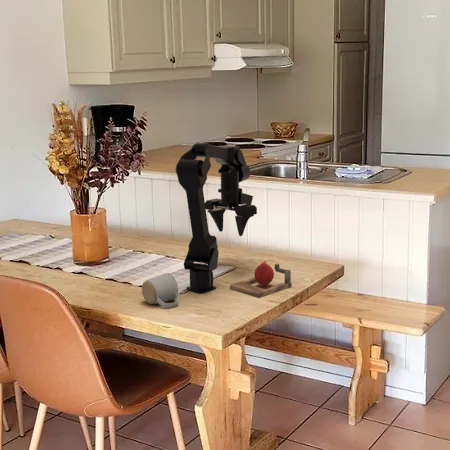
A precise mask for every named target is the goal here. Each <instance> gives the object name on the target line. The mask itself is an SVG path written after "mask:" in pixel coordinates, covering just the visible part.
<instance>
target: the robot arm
mask: <svg viewBox="0 0 450 450" xmlns="http://www.w3.org/2000/svg"><path fill="white" fill-rule="evenodd" d="M197 158H204V160H202V159H197ZM210 159H214V160H215V162H216V163H217V164H220V165H221V166H220V168H219V169H218V171H217V173H218V174H220V188H218V189H217V192H218V193H220V198H212V199H207V200H206V201H205V195H204V194H205V193H204V187H205V186H204V185H205V184H206V183H207V179H208V173H209V171H210V169H211V168H212V164H211V160H210ZM175 173H176V176H177V181H178V183H179V185H180V186H181V188H182V189H183V190H184V191H185V194H186V200H187V202H186V203H187V208H188V214H189V221H190V229H191V235H192V237H191V239H190V242H189V244H188V251H187V254H186V256H185V259H184V261H183V268H184V270H185V271H186V270H188V272H189V286H187V287H186V290H189V291H192V292H195V293H198V294H203V293H206V292H209V291H213V290H216V289H217V286H215V285H214V272H213V271H215V270H217V268H218V261H219V247H218V243H217V237H216V235H212V234H211V233H210V232H209V225H208V218H207V217H208V215H207V212H208V213H209V214H210V216H211V218H212V220H213V222H214V223H215V225H216V228H217V229H218V231H219V232H223V231H224V214H225V212H226V211H227V210H228V211H233V212H235V215H234V218H235V224H236V228H237V233H238V235H239V237H242V236H243V235H244V233H245V229H246V226H247V224H248V221H249V220H250V219H251V218H252V217H254V215H257V213H258V207H257V206H256V205H254V204H253V203H252V202H253V198H254V196H253V195H251V194H248V193H245V192H243V188H241V187H240V183H242V182H244V181H246V180H248V179H249V178H250V177H251V173H252V172H251V168H250V167H249V166H248V164H247V162H246V158H245V157H244V154H243V151H242V150H241V147H240V146H239V145H213V144H210V143H206V142H205V143H204V142H200V143H199V142H198V143H194V144H193V145H192V147H191V149H189V150H188V151H186V152H185V153H184V154H182V155H181V157H180V158H179V160H178V162H177V164H176V166H175Z"/></svg>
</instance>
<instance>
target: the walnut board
mask: <svg viewBox="0 0 450 450" xmlns="http://www.w3.org/2000/svg"><path fill="white" fill-rule="evenodd" d="M274 270H275V271H274V272H277V273H280V274H283V275H284V282H282V283H280V284H277V285H273V286H271V287H268V288H261V287H258V286H255V285H253V284H256V283H258V282H257V281H256V279H255V276H253V277H251V278H247V279H245V280H241V281H238V282H235V283H232V284H229V289H230V290H232V291H236V292H239V293H242V294H246V295H249V296H252V297H255V298H259V299H260V298H262V297H265V296H269V295H271V294H274V293H277V292H280V291H283V290H286V289H288V288H292V287H293V284H292V283H293V282H291V281H292V280H291V279H292V278H291V275H292V271H291V269H285V268H281V267H280V264H279V263H275V264H274ZM268 294H269V295H268Z"/></svg>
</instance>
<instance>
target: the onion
mask: <svg viewBox="0 0 450 450" xmlns="http://www.w3.org/2000/svg"><path fill="white" fill-rule="evenodd" d="M254 270H255V271H254V276H253V277H255V279H256V281H257V282H256V283H258V284H259V285H261V286H262V287H267V286H268V285H269V284H271V282H272V281H273V279H274V276H275V271H274V269H273V268H272V267H271V265H270V264H268V263H267V260H262V261H261V264H259V265H257V267H256V268H255V269H254Z"/></svg>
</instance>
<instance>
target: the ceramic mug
mask: <svg viewBox="0 0 450 450" xmlns="http://www.w3.org/2000/svg"><path fill="white" fill-rule="evenodd" d="M141 294H142V296H143V299H144V300H145V301H146V303H148V304H149V305H157V304H158V305H160V306H161V307H163V308H167V309H171V308H174V307H176V306H177V305H178V303H179V296H178V295H179V285H178V282H177V280H176V278H175V277H174V276H173V274H171V273H170V272H164V273H163V274H160V275H156V276H154V277H151V278H148V279H145V281H144V282H143V283H142V285H141ZM172 300H175V302H172V303H171V302H170V303H169V301H172Z"/></svg>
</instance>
